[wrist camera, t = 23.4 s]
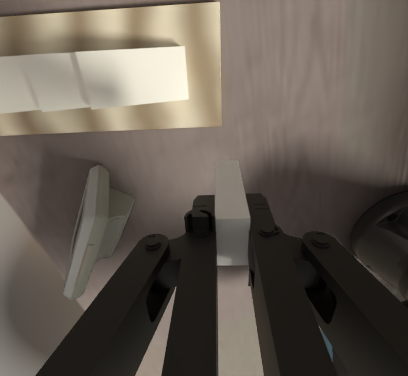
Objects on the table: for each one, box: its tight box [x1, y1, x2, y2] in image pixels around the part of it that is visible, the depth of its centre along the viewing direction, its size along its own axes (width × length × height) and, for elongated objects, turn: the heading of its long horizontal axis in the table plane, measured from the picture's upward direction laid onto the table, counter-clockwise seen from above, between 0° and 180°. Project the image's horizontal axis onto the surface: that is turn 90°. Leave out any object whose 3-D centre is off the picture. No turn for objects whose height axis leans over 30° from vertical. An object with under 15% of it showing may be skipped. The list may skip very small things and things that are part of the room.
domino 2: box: [20, 52, 91, 112], centre depth 24 cm, size 2×5×10 cm
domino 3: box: [76, 46, 189, 110], centre depth 24 cm, size 2×5×10 cm
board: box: [0, 2, 222, 136], centre depth 27 cm, size 30×12×1 cm, turn 93°
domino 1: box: [0, 56, 41, 114], centre depth 25 cm, size 2×5×10 cm
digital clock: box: [63, 165, 135, 299], centre depth 32 cm, size 16×9×11 cm, turn 143°
